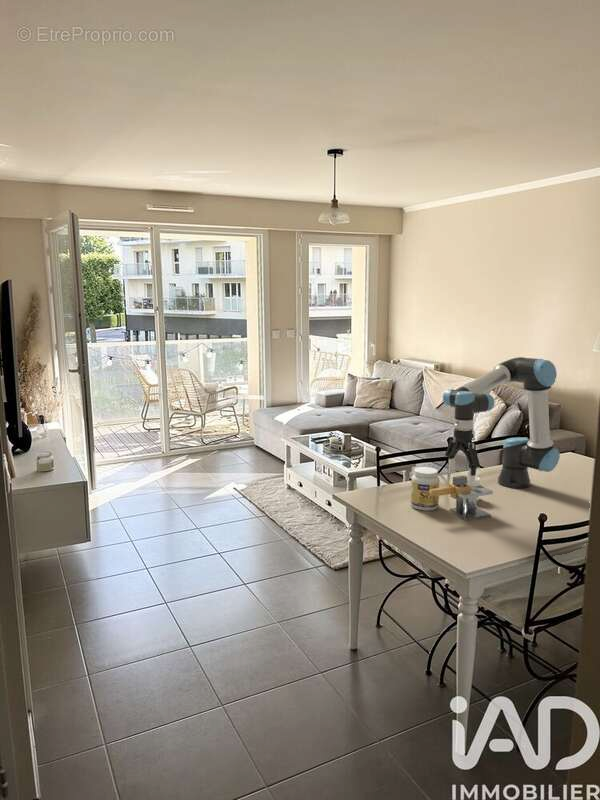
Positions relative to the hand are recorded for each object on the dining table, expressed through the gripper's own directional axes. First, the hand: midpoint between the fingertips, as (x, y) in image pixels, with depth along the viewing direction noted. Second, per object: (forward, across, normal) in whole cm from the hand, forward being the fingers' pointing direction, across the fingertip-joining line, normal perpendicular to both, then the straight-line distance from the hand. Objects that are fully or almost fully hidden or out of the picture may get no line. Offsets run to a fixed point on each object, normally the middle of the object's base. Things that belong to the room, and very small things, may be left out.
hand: (461, 478), depth 249 cm
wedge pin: (+16, 0, 0) cm, 16 cm away
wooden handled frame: (+8, 0, -6) cm, 10 cm away
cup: (+17, -17, +16) cm, 29 cm away
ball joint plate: (+17, 0, +4) cm, 17 cm away
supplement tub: (+17, -15, -8) cm, 24 cm away
